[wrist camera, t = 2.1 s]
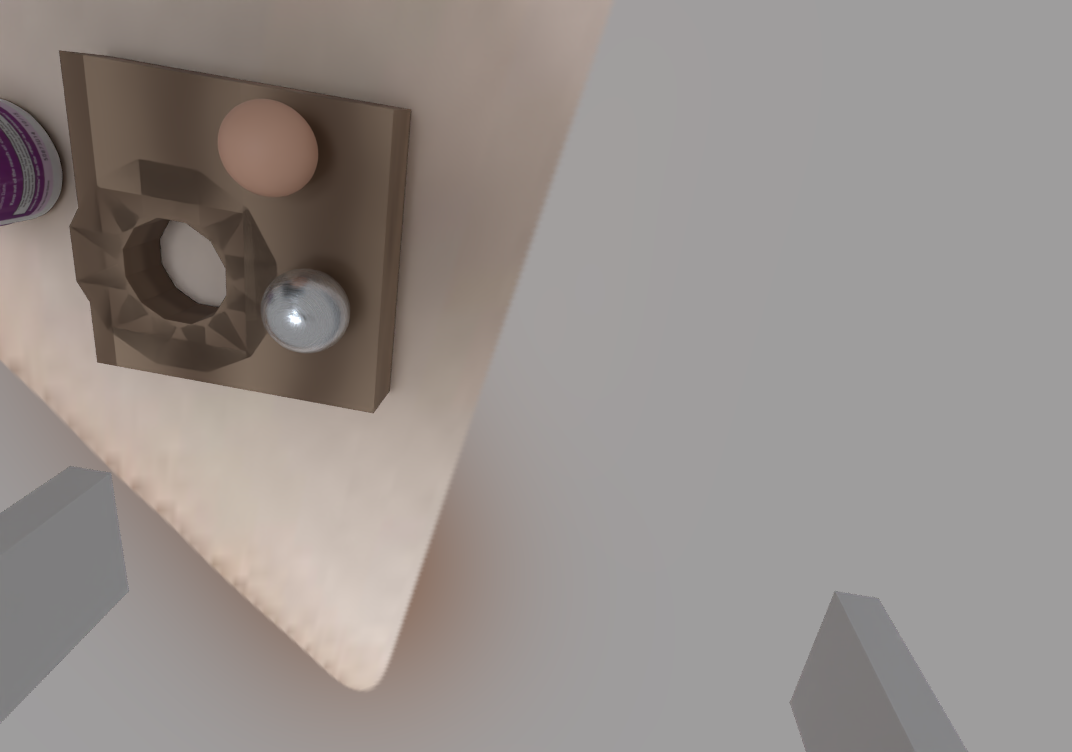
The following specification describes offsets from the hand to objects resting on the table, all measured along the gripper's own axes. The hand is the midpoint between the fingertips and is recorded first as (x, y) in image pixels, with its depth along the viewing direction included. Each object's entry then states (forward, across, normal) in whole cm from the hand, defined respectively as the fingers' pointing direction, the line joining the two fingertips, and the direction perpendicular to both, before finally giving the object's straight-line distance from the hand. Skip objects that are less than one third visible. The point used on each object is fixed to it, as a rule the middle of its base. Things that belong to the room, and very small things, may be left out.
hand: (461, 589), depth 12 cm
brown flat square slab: (+19, -13, +1) cm, 23 cm away
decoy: (+15, -10, +6) cm, 19 cm away
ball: (+15, -9, 0) cm, 17 cm away
